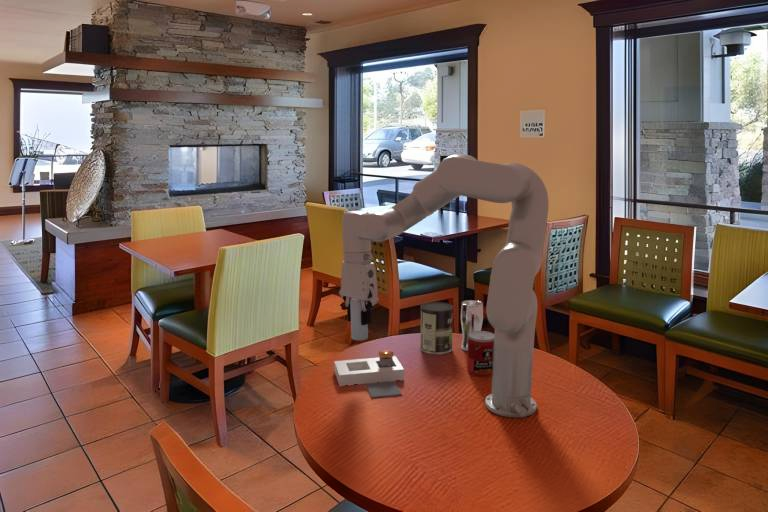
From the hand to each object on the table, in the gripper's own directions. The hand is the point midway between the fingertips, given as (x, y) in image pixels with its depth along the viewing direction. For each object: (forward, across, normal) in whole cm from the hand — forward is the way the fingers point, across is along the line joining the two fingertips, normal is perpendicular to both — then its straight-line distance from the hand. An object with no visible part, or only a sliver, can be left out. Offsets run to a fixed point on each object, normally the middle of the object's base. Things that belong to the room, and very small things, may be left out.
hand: (359, 321), depth 155 cm
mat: (+17, -10, +2) cm, 20 cm away
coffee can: (+17, -2, -32) cm, 36 cm away
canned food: (+17, -23, -26) cm, 39 cm away
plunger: (+16, -4, -6) cm, 18 cm away
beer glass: (+17, -10, -40) cm, 44 cm away
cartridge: (+5, 0, 0) cm, 5 cm away
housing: (+16, -1, -2) cm, 17 cm away
